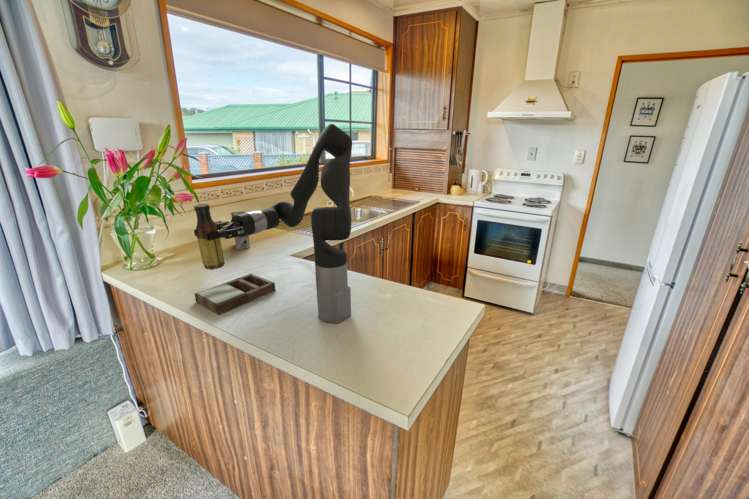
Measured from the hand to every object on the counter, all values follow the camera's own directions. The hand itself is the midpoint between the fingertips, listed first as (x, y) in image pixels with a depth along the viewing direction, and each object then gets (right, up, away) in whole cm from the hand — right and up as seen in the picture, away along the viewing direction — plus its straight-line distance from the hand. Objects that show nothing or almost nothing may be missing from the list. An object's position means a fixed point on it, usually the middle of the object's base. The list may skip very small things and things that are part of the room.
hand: (200, 235), depth 102 cm
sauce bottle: (+1, -10, +6) cm, 11 cm away
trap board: (+5, -20, +14) cm, 25 cm away
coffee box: (-13, -3, +65) cm, 67 cm away
